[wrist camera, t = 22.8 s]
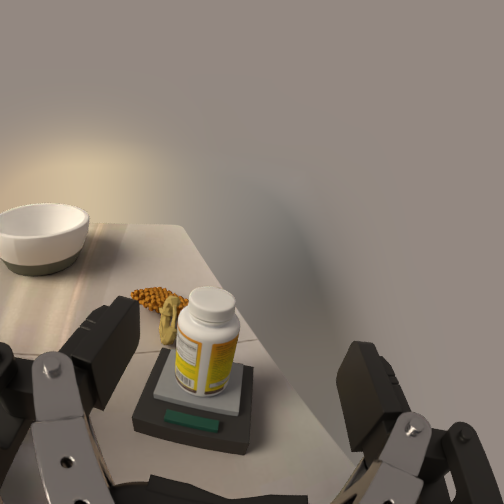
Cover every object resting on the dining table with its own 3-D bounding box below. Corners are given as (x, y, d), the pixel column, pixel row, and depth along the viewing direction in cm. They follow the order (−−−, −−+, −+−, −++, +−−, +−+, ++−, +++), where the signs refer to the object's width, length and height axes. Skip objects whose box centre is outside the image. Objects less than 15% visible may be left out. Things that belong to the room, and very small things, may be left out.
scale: (249, 381, 33) (255, 361, 32) (244, 455, 23) (250, 439, 22) (161, 362, 33) (162, 342, 32) (134, 430, 23) (130, 412, 21)
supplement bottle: (229, 366, 30) (247, 288, 27) (224, 404, 25) (244, 322, 22) (180, 356, 30) (188, 276, 27) (168, 392, 25) (172, 307, 21)
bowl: (99, 240, 61) (100, 206, 58) (73, 290, 41) (69, 243, 38) (21, 233, 54) (19, 200, 51) (-24, 275, 34) (-31, 233, 31)
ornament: (135, 264, 44) (138, 296, 31) (194, 279, 49) (221, 314, 35) (126, 302, 45) (127, 346, 31) (184, 315, 49) (206, 360, 36)
